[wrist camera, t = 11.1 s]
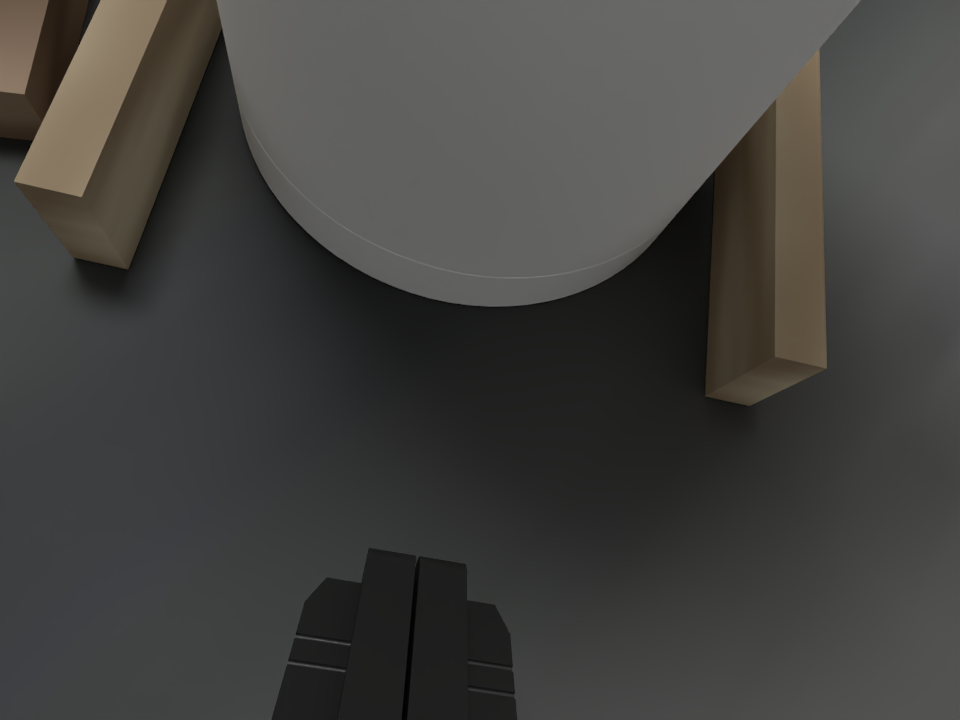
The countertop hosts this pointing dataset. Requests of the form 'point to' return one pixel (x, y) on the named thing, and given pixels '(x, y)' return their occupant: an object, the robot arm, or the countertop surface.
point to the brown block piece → (34, 59)
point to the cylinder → (504, 126)
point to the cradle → (176, 79)
